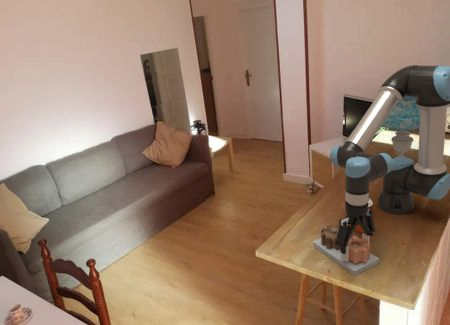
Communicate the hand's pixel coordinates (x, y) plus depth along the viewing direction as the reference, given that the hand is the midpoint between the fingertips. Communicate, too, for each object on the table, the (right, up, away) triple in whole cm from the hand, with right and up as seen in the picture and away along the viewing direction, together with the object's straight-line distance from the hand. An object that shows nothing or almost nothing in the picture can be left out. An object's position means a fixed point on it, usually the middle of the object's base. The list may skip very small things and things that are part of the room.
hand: (355, 254), depth 127 cm
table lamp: (+53, +31, +70) cm, 93 cm away
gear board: (-2, -1, +6) cm, 6 cm away
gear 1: (-5, +2, +10) cm, 11 cm away
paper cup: (+10, +6, +20) cm, 23 cm away
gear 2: (0, 0, 0) cm, 0 cm away
